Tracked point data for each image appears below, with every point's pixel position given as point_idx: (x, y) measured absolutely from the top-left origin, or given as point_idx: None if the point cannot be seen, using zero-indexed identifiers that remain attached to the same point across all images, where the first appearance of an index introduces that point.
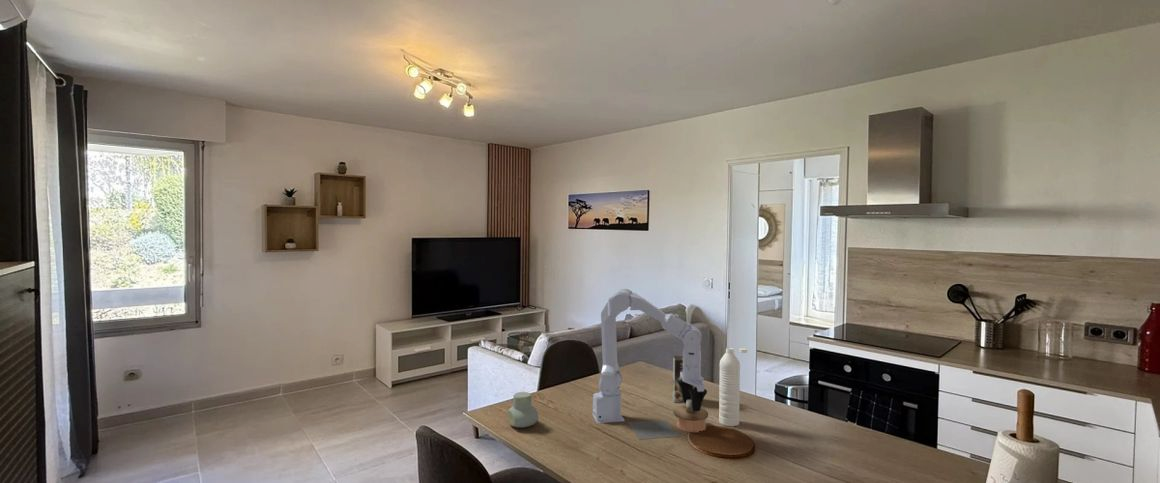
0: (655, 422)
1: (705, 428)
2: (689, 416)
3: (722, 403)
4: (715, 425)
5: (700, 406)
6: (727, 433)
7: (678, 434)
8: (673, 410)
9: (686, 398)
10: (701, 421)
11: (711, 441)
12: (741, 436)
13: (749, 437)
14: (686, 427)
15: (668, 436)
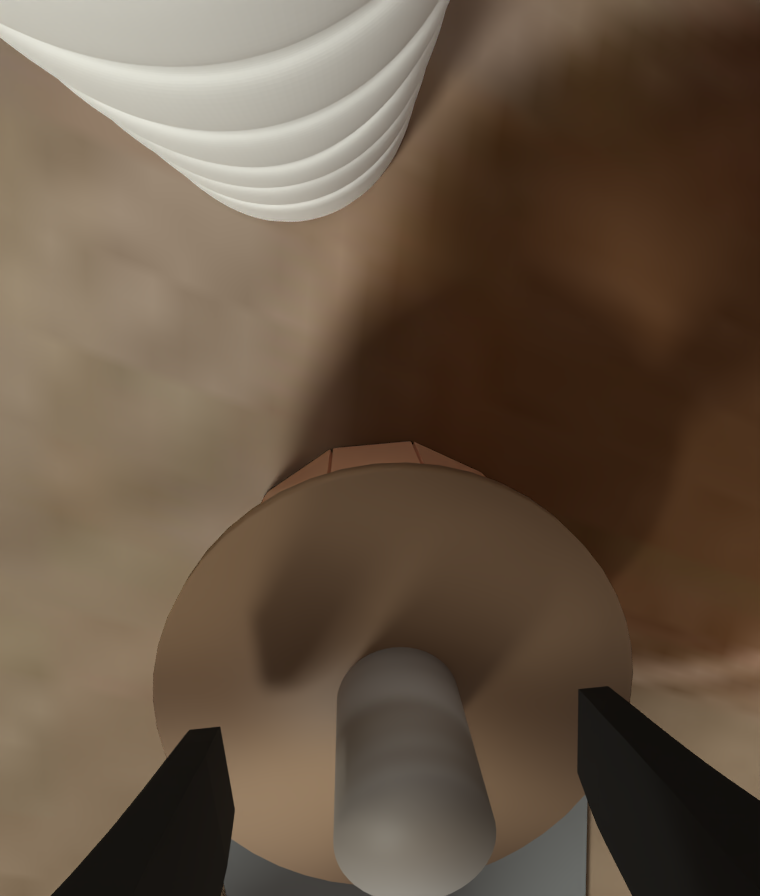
0: (269, 871)
1: (467, 470)
2: (550, 753)
3: (331, 142)
4: (348, 304)
5: (663, 736)
6: (577, 253)
7: None
8: (329, 880)
9: (210, 840)
10: None
11: (714, 494)
12: (683, 117)
13: (730, 24)
14: None
15: (575, 828)
